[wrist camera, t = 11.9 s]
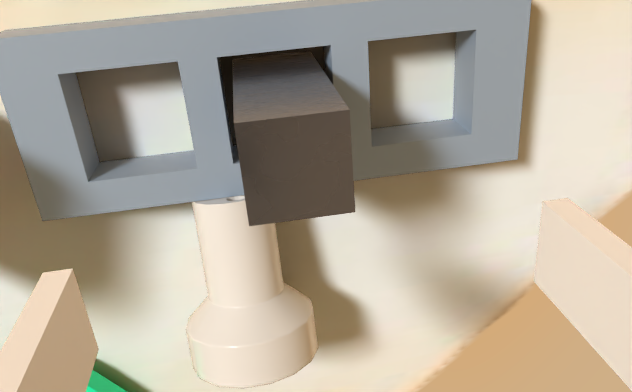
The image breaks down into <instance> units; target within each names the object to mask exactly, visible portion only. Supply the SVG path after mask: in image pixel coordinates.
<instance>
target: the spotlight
mask: <svg viewBox="0 0 632 392" xmlns="http://www.w3.org/2000/svg"><path fill="white" fill-rule="evenodd" d="M192 206H193V212H194V218H195V223H196V229H197V235H198V241H199V246H200V252H201V258H202V263H203V269H204V275H205V281H206V286H207V292H208V296H207V297H206V299H205V300H204V301H203V302H202V303H201V304H200V306H199V307H198V308H197V309H196V310H195V311H194V313H193V314H192V315H191V316H190V317H189V319H188V323H187V327H186V333H187V339H188V344H189V349H190V355H191V360H192V365H193V369H194V370H195V372H196V373H197V375H198V376H199V378H200V379H201V380H204V381H206V382H208V383H211V384H213V385H215V386H218V387H229V388H249V387H255V386H261V385H267V384H272V383H274V382H276V381H279V380H281V379H284V378H286V377H289V376H291V375H294V374H295V373H297V372H298V371H299V370H301V369H302V368H303V367H304V366H306V365H307V364H308V363H310V362H311V361H312V359H313V357H314V355H315V353H316V351H317V349H318V342H317V334H316V326H315V318H314V310H313V306H312V302H311V299H309V298H308V297H306V296H305V295H304V294H302V293H301V292H299V291H297V290H296V289H294V288H292V287H291V286H289V285H287V284H286V283H284V282H283V277H282V270H281V263H280V255H279V248H278V241H277V233H276V226H275V223H270V224H263V225H256V226H249V222H248V216H247V209H246V202H245V196H244V195H240V196H232V197H225V198H217V199H209V200H202V201H194V202H192Z"/></svg>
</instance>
